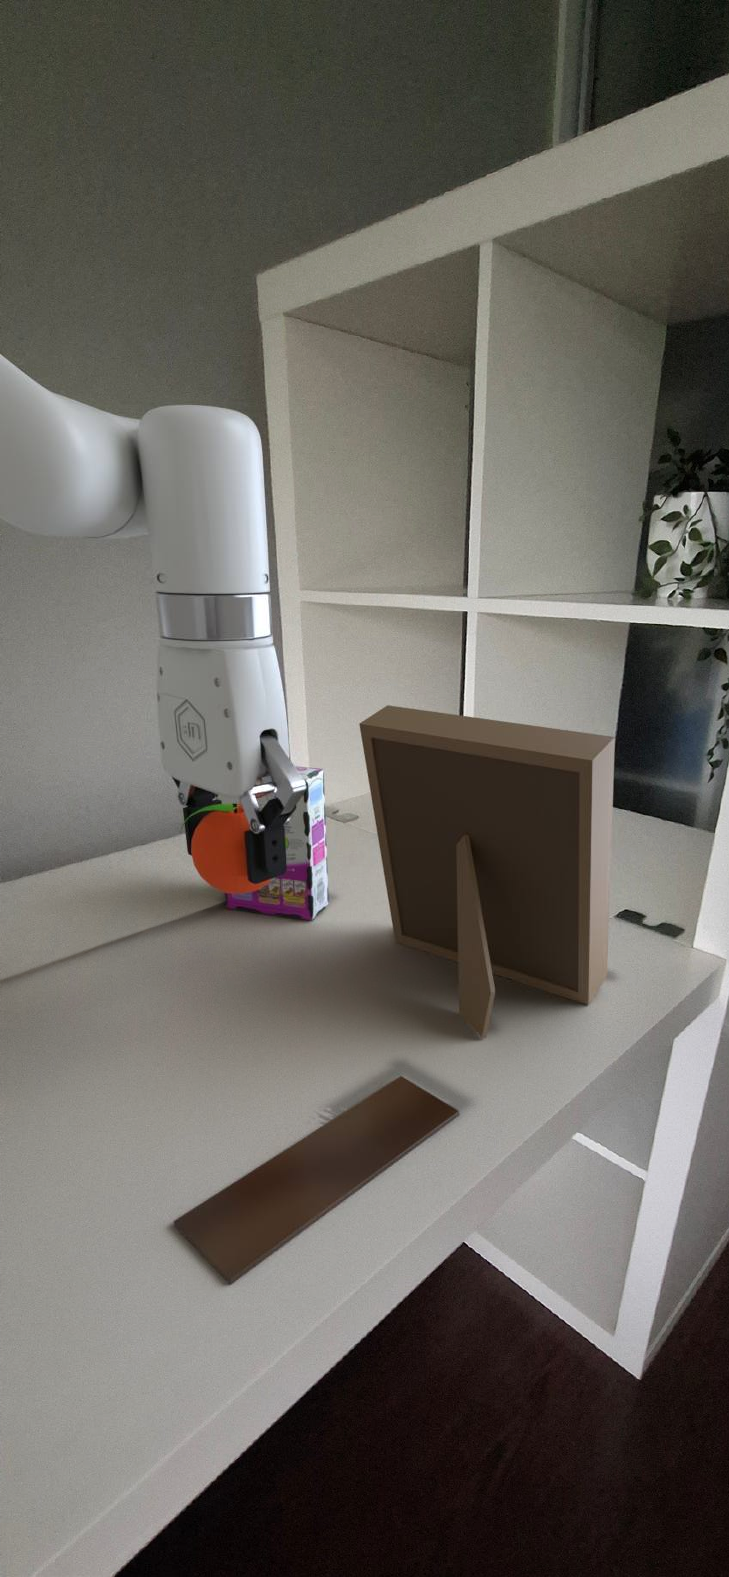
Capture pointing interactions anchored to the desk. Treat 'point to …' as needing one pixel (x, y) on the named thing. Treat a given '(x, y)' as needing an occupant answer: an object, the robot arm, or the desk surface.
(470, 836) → the photo frame
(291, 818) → the candy bar box
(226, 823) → the clementine
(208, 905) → the desk surface
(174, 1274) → the desk surface
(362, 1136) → the edge strip
